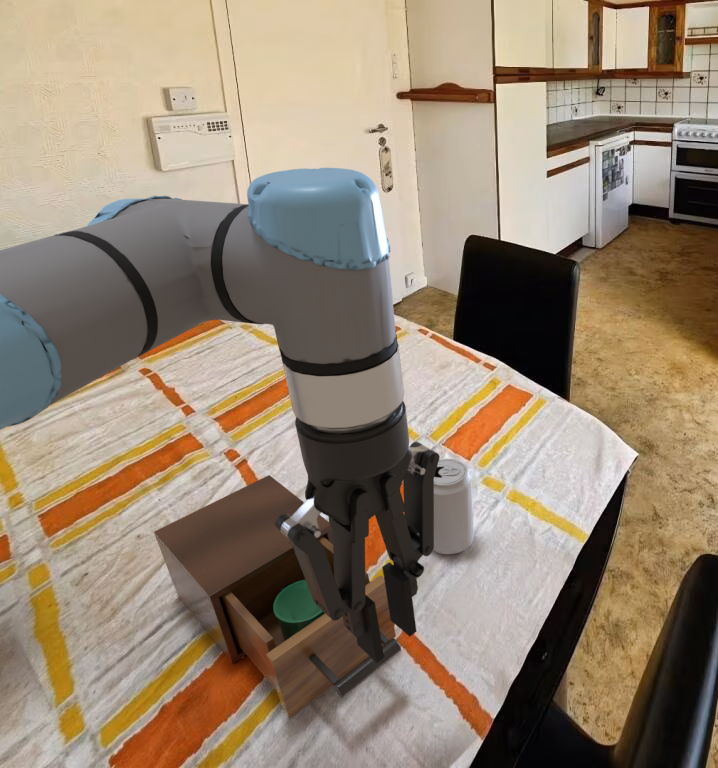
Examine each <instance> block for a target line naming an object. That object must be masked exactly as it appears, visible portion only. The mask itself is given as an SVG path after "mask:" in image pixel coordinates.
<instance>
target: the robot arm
mask: <svg viewBox="0 0 718 768" xmlns="http://www.w3.org/2000/svg"><path fill="white" fill-rule="evenodd" d="M246 191H247V192H246V197H247V203H233V202H220V201H205V200H195V199H194V200H193V199H182V198H179V197H174V198H173V197H171V196H169V195H152V196H149V197H146V198H123V199H117V200H114V201H112V202H110V203H107V204H106V205H104V206H103V207H102V208H101V209H100V211H99V212H98V213H97V214H96V215H95V216H94V218H93V219H92V220H90V221H89V222H88V224H87V225H86V226H82V227H80V228H76V229H73V230H69V231H65V232H62V233H57V234H54V235H50V236H46V237H43V238H38V239H35V240H32V241H29V242H28V241H27V242H24V243H21V244H18V245H14V246H11V247H6V248H3V249H0V431H1V430H3V429H5V428H8V427H12V426H17V425H20V424H23V423H26V422H27V421H30V420H31V419H33V418H34V417H36V416H37V415H39V414H41V413H42V412H44V411H45V410H47V409H48V408H49V407H50V406H51V405H53V404H55V403H57V402H59V401H60V400H62V399H65V398H66V397H67V396H69V395H71V394H73V393H75V392H76V391H78V390H80V389H82V388H84V387H86V386H88V385H89V384H91V383H93V382H94V381H96V380H99V379H100V378H101V377H103V376H105V375H107V374H109V373H111V372H113V371H114V370H116V369H118V368H119V367H122V366H123V365H125V364H128V363H129V362H131V361H134V360H135V359H137V358H139V357H141V356H144V355H145V354H146V353H149V352H150V351H153V350H155V349H157V348H159V347H160V346H162V345H164V344H165V343H168V342H169V341H171V340H173V339H175V338H177V337H179V336H181V335H182V334H184V333H186V332H189V331H190V330H192V329H194V328H196V327H198V326H199V325H201V324H204V323H206V322H210V321H225V322H233V323H234V322H236V323H244V324H253V325H271V326H273V328H274V333H275V337H276V342H277V346H278V350H279V353H280V358H281V362H282V368H283V372H284V377H285V380H286V384H287V390H288V396H289V400H290V405H291V410H292V412H293V414H294V416H295V421H294V425H295V430H296V435H297V439H298V443H299V449H300V453H301V458H302V462H303V466H304V469H305V471H306V474H307V483H306V487H305V490H304V497H305V501H303V502H304V503H303V504H302V505H301V507H300V508H299V509H298V510H297V511H296V512H295V513H294V514H293V515H292V516H290V515H289V514H282V515H280V516H279V517H278V518H277V519H276V521H275V527H276V528H277V529H278V530H279V531H280V532H281V533H282V534H284V535H285V536H286V537H287V538H288V539H289V540H290V541H291V544H292V546H293V549H294V551H295V554H296V557H297V559H298V562H299V564H300V567H301V570H302V572H303V575H304V577H305V580H306V583H307V585H308V588H309V590H310V593H311V596H312V598H313V601H314V603H315V604H316V605H317V606H318V607H319V608H320V609H321V610H322V611H323V612H324V613H326V614H327V615H328V616H329V617H330V618H331V619H332V620H333V621H336V620H339V619H340V618H341V617H342V616H343V621H344V626H345V627H346V628H347V629H348V630H349V631H350V632H351V633H352V634H353V635H354V636H355V637H356V638H357V643H358V646H359V647H360V648H361V649H363V650H364V651H365V652H366V653H367V654H368V655H369V656H370V657H371V658H372V659H373V660H374V661H375V662H376V663H378V662H379V661H380V660H382V659H383V658H384V654H383V648H382V642H381V636H380V630H379V624H378V618H377V612H376V606H375V602H373V601H372V600H371V599H370V598H369V597H368V596H367V595H365V572H366V538H368V537H369V534H370V519H372V517H374V516H375V519H376V522H377V525H378V529H379V531H380V535H381V537H382V540H383V544H384V546H385V549H386V552H387V555H388V558H389V560H390V561H389V562H387V563H386V564H385V565H383V566H382V573H383V577H384V581H385V587H386V594H387V600H388V607H389V613H390V620H391V621H392V622H393V623H394V625H395V626H396V627H398V628H399V629H400V630H401V631H402V632H403V633H405V634H406V635H407V636H408V637H409V638H410V637H412V636H413V635H414V634H416V633H417V626H416V625H417V624H416V617H415V610H414V601H413V597H415V596H416V595H417V594H418V590H419V587H418V579H419V578H420V577H421V576H422V575H423V573H424V571H425V566H424V565H422V564H421V563H420V562H419V560H420V559H421V558H423V556H424V557H429V556H430V555H431V554H432V553H433V551H434V550H433V549H434V476H435V472H436V469H437V465H438V462H439V460H440V454H439V452H437V451H435V450H433V449H431V448H429V447H428V446H426V445H424V444H422V443H420V442H419V441H413V442H412V443H411V444H410V434H409V425H408V416H407V415H408V414H407V407H406V404H405V401H404V398H405V393H406V392H405V391H406V390H405V384H404V377H403V370H402V369H403V367H402V362H401V361H402V360H401V353H400V345H399V342H398V337H397V330H396V321H395V311H394V301H393V288H392V279H391V268H390V253H391V245H390V242H389V241H390V240H389V239H388V236H387V232H386V225H385V220H384V214H383V209H382V203H381V198H380V192H379V189H378V187H377V185H376V183H375V182H374V181H373V179H372V178H370V177H369V176H368V175H366V174H364V173H362V172H361V171H358V170H354V169H350V168H343V167H319V168H294V169H293V168H292V169H287V170H281V171H274V172H270V173H266V174H263V175H261V176H258V177H256V178H255V179H253V180H252V181H251V182H250V183H249V185H248V187H247V190H246ZM402 485H403V494H402V492H401V488H402ZM321 514H323V515H324V516H327V517H328V522H329V523H330V525H331V527H332V529H333V554H334V575H333V572H332V570H331V567H330V564H329V561H328V558H327V555H326V552H325V549H324V547H323V545H322V544H321V542H320V541H319V540H318V539H317V538H318V537H320V535H321V531H320V530H319V524H318V516H319V515H321ZM391 561H392V562H391Z"/></svg>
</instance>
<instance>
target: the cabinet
mask: <svg viewBox="0 0 718 768" xmlns="http://www.w3.org/2000/svg"><path fill="white" fill-rule="evenodd" d="M304 502H305V501H304V500H302V499H301V498H299V497H298V496H297V495H296V494H294V493H293V492H292V491H290V490H289V489H288V488H287V487H285V486H284V485H283V484H282V483H281V482H279V481H278V480H276V479H275V478H274V477H273V476H271V475H270V474H269V475H266V476H264V477H262V478H260V479H258V480H256V481H255V482H252V483H250V484H248V485H245V486H244V487H242V488H240V489H238V490H235V491H234V492H231V493H230V494H227V495H226V496H223V497H222V498H220V499H217V500H216V501H213V502H212V503H210V504H207V505H205V506H203V507H201V508H199V509H197V510H195V511H193V512H191V513H189V514H186V515H185V516H183V517H181V518H179V519H177V520H175V521H173V522H171V523H168V524H166V525H165V526H163V527H160V528H158V529H157V530H154V531H153V535H154V536H155V539H156V542H157V544H158V548H159V550H160V552H161V556H162V557H163V560H164V563H165V566H166V568H167V570H168V571H167V572H168V573H169V576H170V578H171V581H172V585H173V587H174V589H175V592H176V595H177V597H178V598H179V600H180V601H181V602H182V603H183V605H184V606H185V607H186V608H187V610H188V611H189V612H190V613H191V615H192V616H193V617H194V619H196V621H197V622H198V623H199V624H200V626H201V627H202V628H203V629H204V630H205V632H206V633H207V634H208V636H209V637H210V638H211V639H212V640H213V642H214V643H215V645H216V646H217V647H218V648H219V649H220V650H221V652H222V653H223V654H224V655H225V656H226V658H227V657H228V658H227V660H229V662H230V663H231V662H232V663H231V664H232V665H235V664H236V663H237V662H236V661H238V660H239V661H241V660H242V659H243V658H242V657H244V656H245V655H246V654H245V653H244V652H243V650H242V649H241V648H240V647H239V646H238V644H237V643H236V642H235V641H234V640H233V638H232V635H231V632H230V629H229V626H228V623H227V620H226V617H225V614H224V611H223V608H222V605H221V602H220V599H219V597H220V596H222V595H223V594H225V593H227V592H228V591H230V590H232V589H233V588H235V587H237V586H239V585H240V584H242V583H244V582H245V581H247V580H249V579H250V578H252V577H254V576H255V575H257V574H259V573H260V572H262V571H264V570H265V569H267V568H269V567H270V566H272V565H274V564H275V563H277V562H279V561H281V560H282V559H284V558H286V557H287V556H289V555H291V554H292V553H294V552H295V551H294V549H293V546H292V544H291V541H290V540H289V539H288V538H287V537H286V536H285V535H284V534H282V533H281V532H280V531H279V530H278V529H277V528H276V527H275V521H276V519H277V518H278V517H279V516H280V515H282V514H289V515H290V516H292V515H293V514H294V513H295V512H296V511H297V510H298V509H299V508H300V507H301V505H302V504H303V503H304ZM318 524H319V530H320V531H321V535H320V537H321V536H323V537H324V538H325V539H327V540H328V541H329V542H330V543H331V544H333V529H332V527H331V525H330V523H329V520H327V519H326V518H325V517H323V516H322V515H321V514H320V515H319V516H318ZM318 538H319V537H318ZM245 657H246V656H245ZM245 657H244V658H245ZM241 658H242V659H241ZM240 659H241V660H240ZM239 661H238V662H239ZM235 662H236V663H235ZM234 663H235V664H234Z"/></svg>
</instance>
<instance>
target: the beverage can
mask: <svg viewBox="0 0 718 768" xmlns="http://www.w3.org/2000/svg"><path fill="white" fill-rule="evenodd" d="M472 492H473V491H472V476H471V473H470V472H469V471H468V467H467V465H466V464H465V463H464V462H462V461H461V460H458V459H455V458H439V462H438V465H437V469H436V472H435V476H434V549H433V551H434V552H435V553H439V554H442V555H454V554H458V553H461V552H464V551H465V550H467V549H468V548H469V547H470V546H471V544H472V543H473V541H474V538H475V537H474V536H475V532H474V531H475V530H474V513H473V512H474V511H473V493H472Z"/></svg>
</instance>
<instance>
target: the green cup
mask: <svg viewBox="0 0 718 768" xmlns="http://www.w3.org/2000/svg"><path fill="white" fill-rule="evenodd" d="M279 591H280V593H279V594H278V596H277V597H276V599H275V601H274V605H273V611H274V614H275V617H276V618H277V620H278V621H279V625H280V628H281V632H282V635H283V639H284V642H285V641H286V640H287V639H289V638H290V637H292V636H293V635H295V634H296V633H298V632H299V631H301V630H302V629H303V628H305V627H306V626H308V625H309V624H311V623H312V622H314V621H315V620H316V619H318V618H319V617H321V616H322V615H324V614H325V613H324V612H323V611H322V610H321V609H320V608H319V607H318V606H317V605H316V604H315V603H314V601H313V598H312V596H311V593H310V590H309V588H308V585H307V583H306V580H301V581H298V582H295V583H293V584H291V583H288V584H287V585H285V586H283V587H282V588H280V589H279Z"/></svg>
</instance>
